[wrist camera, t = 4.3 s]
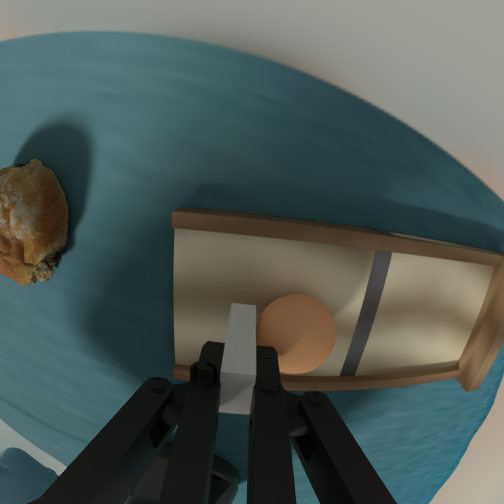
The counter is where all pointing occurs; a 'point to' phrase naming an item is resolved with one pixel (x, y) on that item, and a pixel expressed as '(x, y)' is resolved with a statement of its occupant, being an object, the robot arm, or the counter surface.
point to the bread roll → (31, 222)
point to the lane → (342, 296)
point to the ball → (297, 332)
